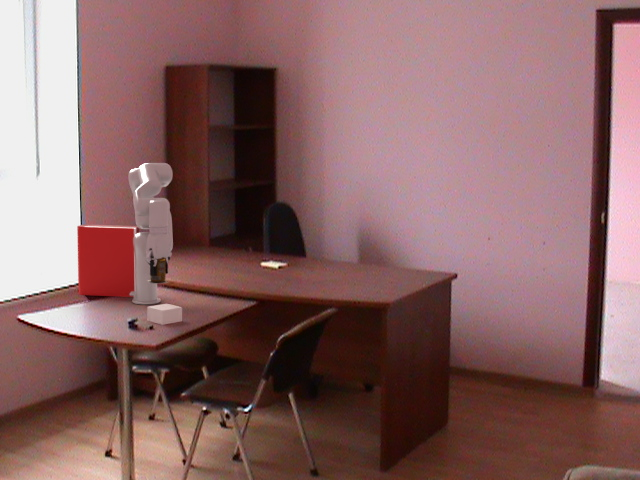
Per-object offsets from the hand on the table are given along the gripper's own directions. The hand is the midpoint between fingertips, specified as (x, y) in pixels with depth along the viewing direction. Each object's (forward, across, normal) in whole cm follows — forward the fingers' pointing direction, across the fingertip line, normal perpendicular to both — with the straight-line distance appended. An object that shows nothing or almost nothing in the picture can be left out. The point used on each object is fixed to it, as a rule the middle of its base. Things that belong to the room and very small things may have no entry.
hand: (159, 274), depth 373 cm
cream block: (+20, -1, +2) cm, 20 cm away
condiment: (+3, +1, 0) cm, 3 cm away
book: (+20, -31, -55) cm, 66 cm away
